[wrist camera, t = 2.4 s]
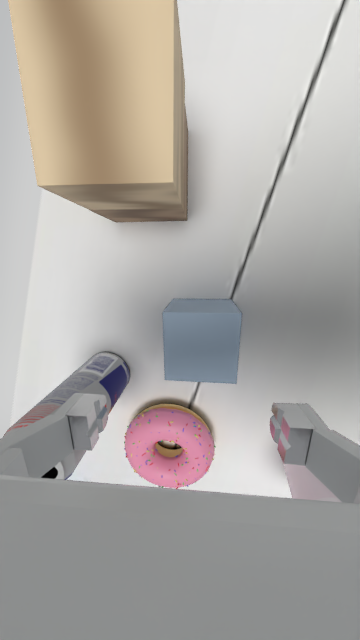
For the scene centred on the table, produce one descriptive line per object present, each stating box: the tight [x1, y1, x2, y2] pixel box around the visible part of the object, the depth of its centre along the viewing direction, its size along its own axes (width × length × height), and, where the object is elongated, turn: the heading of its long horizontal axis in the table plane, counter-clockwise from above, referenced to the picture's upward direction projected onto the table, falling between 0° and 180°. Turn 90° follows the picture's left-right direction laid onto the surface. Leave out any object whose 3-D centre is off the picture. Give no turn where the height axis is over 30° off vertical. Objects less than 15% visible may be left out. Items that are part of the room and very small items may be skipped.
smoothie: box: [282, 460, 341, 502], centre depth 18 cm, size 6×6×14 cm
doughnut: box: [124, 404, 215, 489], centre depth 25 cm, size 11×11×4 cm
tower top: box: [8, 0, 185, 210], centre depth 11 cm, size 7×7×5 cm
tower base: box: [90, 107, 188, 222], centre depth 16 cm, size 7×7×5 cm
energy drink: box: [3, 352, 130, 480], centre depth 19 cm, size 5×5×12 cm
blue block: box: [163, 299, 242, 384], centre depth 19 cm, size 6×6×6 cm
